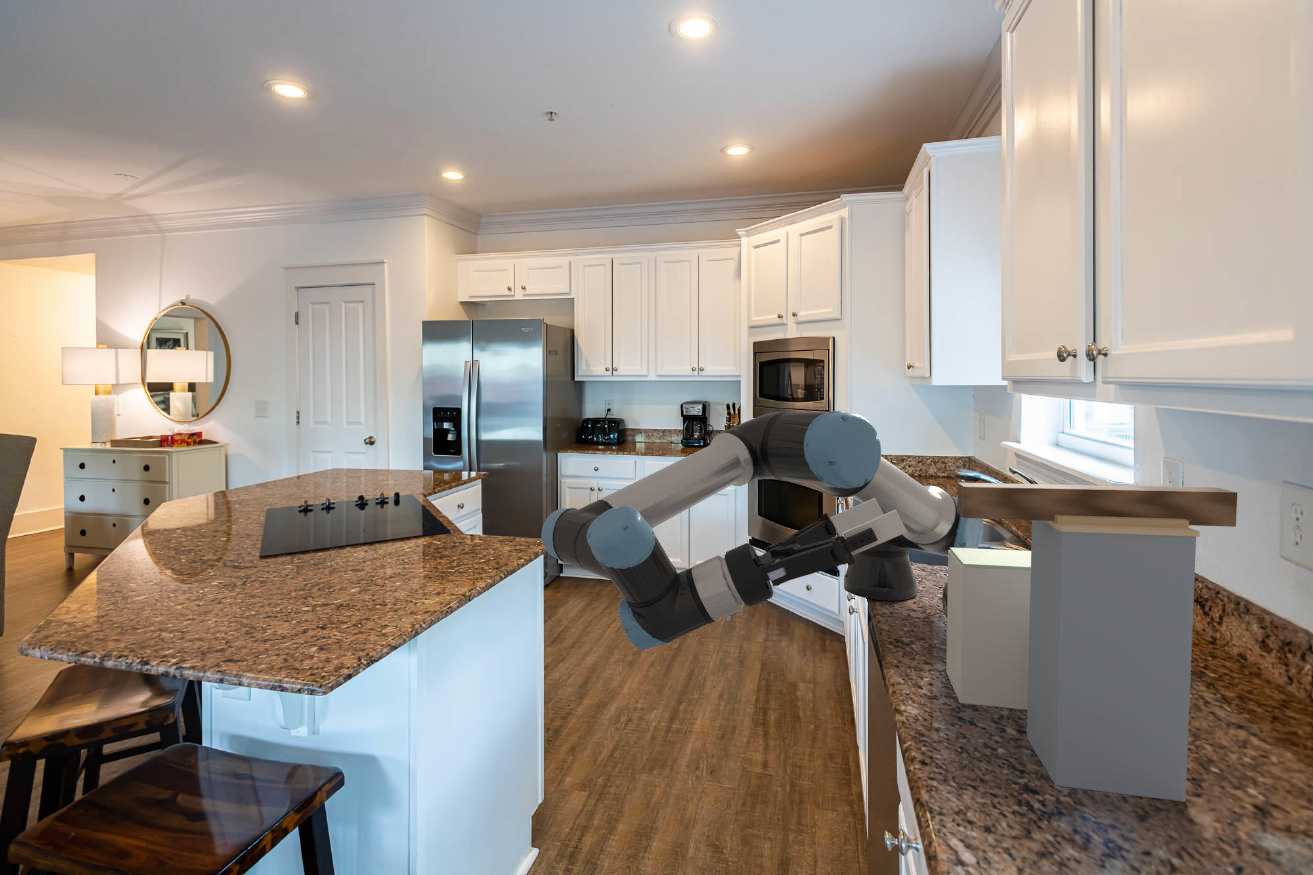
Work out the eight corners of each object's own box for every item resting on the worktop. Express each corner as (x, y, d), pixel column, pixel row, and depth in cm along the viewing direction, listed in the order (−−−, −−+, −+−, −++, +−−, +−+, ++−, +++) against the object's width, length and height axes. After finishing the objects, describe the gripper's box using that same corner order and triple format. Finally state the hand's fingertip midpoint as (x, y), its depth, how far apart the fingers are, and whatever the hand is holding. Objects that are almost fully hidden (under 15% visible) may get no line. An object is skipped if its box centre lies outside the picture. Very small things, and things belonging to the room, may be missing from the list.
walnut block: (1215, 520, 69) (1216, 487, 69) (1235, 526, 66) (1237, 492, 66) (957, 512, 76) (957, 482, 76) (963, 518, 72) (964, 486, 72)
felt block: (960, 702, 87) (962, 564, 86) (946, 672, 97) (948, 547, 96) (1127, 719, 82) (1132, 572, 81) (1095, 685, 92) (1099, 553, 91)
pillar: (1140, 749, 76) (1148, 506, 74) (1188, 803, 66) (1200, 523, 64) (1024, 736, 79) (1029, 503, 77) (1054, 786, 69) (1061, 519, 67)
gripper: (749, 584, 94) (884, 526, 91) (743, 638, 69) (928, 560, 66) (727, 538, 94) (860, 478, 91) (714, 575, 70) (896, 495, 66)
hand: (889, 513), depth 79 cm, fingers open, 13 cm apart
